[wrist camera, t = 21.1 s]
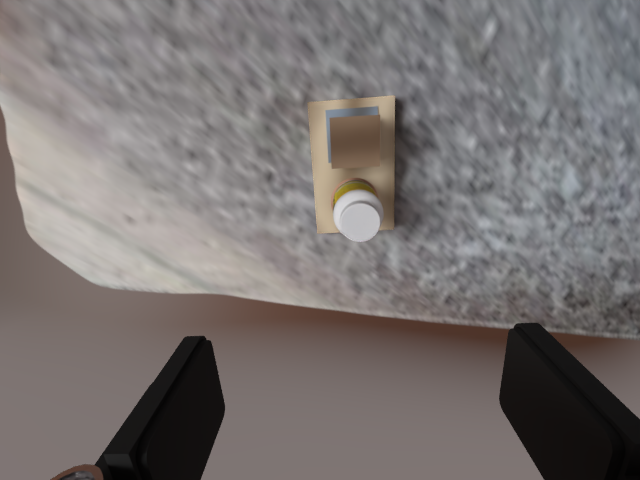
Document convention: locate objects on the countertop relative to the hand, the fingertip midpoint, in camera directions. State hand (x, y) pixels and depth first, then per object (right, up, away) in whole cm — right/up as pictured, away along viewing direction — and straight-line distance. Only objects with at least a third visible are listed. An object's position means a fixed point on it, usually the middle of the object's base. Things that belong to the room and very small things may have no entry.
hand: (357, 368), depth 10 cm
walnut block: (+3, +16, +28) cm, 33 cm away
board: (+3, +13, +32) cm, 34 cm away
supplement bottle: (+3, +9, +31) cm, 32 cm away
